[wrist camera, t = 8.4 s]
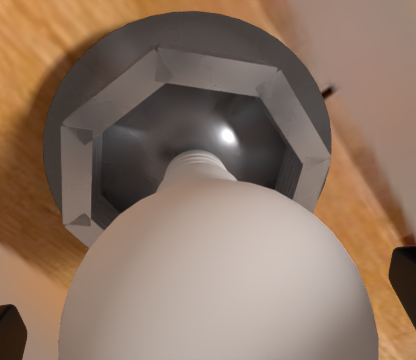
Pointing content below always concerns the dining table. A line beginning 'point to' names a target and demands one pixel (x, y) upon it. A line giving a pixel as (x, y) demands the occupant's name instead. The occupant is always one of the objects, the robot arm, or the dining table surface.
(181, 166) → the lightbulb
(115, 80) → the socket base
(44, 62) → the dining table surface
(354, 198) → the dining table surface
